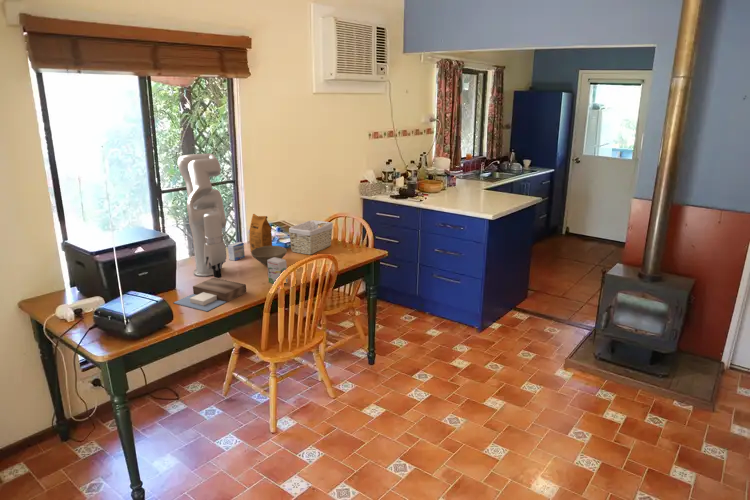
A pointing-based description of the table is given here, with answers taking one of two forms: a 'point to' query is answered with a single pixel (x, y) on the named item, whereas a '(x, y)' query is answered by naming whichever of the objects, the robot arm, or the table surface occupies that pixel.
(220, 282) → the brown flat block
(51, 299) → the table surface
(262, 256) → the bowl
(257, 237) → the coffee package
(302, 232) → the storage basket
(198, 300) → the coaster
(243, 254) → the medicine box
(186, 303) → the mat
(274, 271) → the ink box
